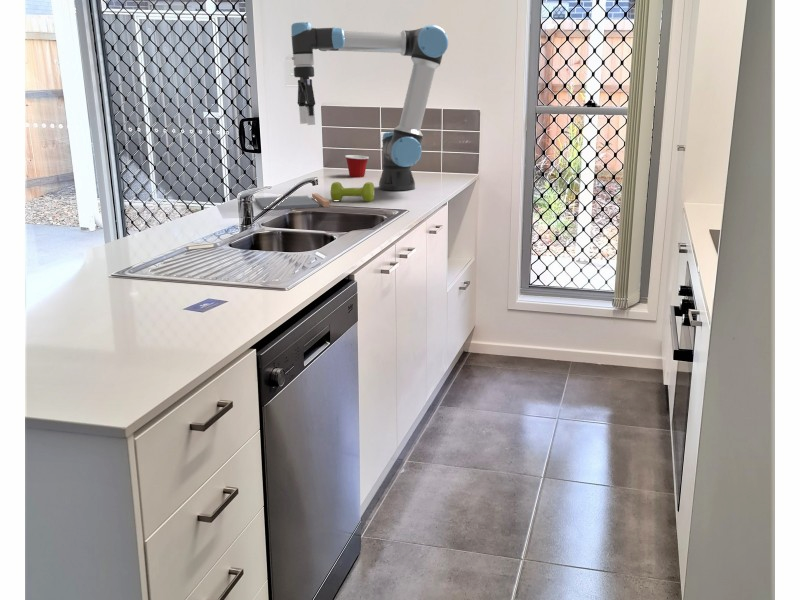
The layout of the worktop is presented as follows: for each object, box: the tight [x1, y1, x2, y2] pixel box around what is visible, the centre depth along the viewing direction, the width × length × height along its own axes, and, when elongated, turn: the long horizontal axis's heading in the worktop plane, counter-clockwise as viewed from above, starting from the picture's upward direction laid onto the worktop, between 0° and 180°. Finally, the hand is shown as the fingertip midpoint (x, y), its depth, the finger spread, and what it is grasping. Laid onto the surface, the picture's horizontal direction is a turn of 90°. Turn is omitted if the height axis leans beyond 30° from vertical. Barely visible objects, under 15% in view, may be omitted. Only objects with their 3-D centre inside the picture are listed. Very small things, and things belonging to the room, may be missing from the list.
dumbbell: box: [330, 181, 375, 203], centre depth 298 cm, size 16×8×7 cm, turn 82°
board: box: [254, 195, 320, 210], centre depth 292 cm, size 20×24×1 cm
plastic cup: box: [344, 154, 370, 179], centre depth 358 cm, size 11×11×12 cm
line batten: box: [311, 192, 330, 208], centre depth 295 cm, size 2×24×2 cm, turn 16°
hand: (307, 124), depth 300 cm, fingers open, 13 cm apart
